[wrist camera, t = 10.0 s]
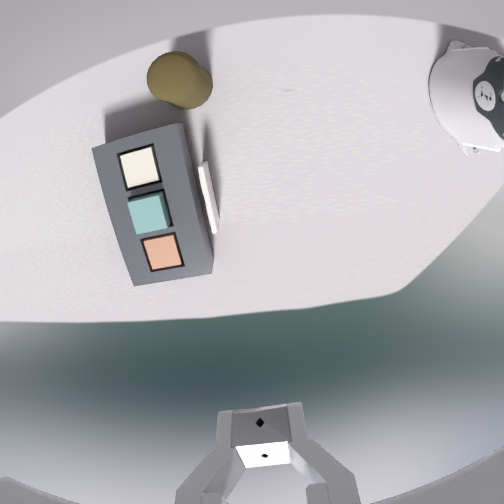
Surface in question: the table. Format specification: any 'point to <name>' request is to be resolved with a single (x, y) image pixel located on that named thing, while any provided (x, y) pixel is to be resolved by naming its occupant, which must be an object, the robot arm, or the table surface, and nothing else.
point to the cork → (179, 80)
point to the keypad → (178, 197)
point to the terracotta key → (163, 250)
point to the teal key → (150, 212)
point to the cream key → (141, 166)
